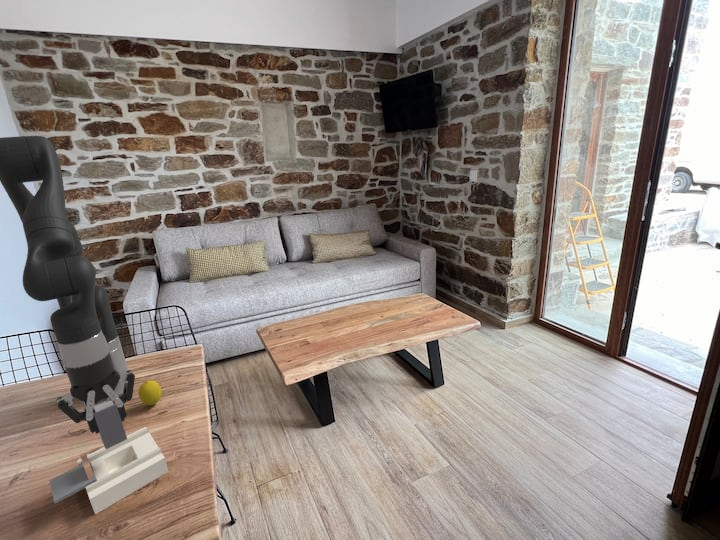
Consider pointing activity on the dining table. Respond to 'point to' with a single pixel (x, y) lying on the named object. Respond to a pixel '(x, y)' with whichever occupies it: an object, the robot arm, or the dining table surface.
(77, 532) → the dining table surface
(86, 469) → the panel
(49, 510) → the dining table surface
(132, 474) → the socket
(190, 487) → the dining table surface
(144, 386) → the lemon
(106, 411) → the plug
